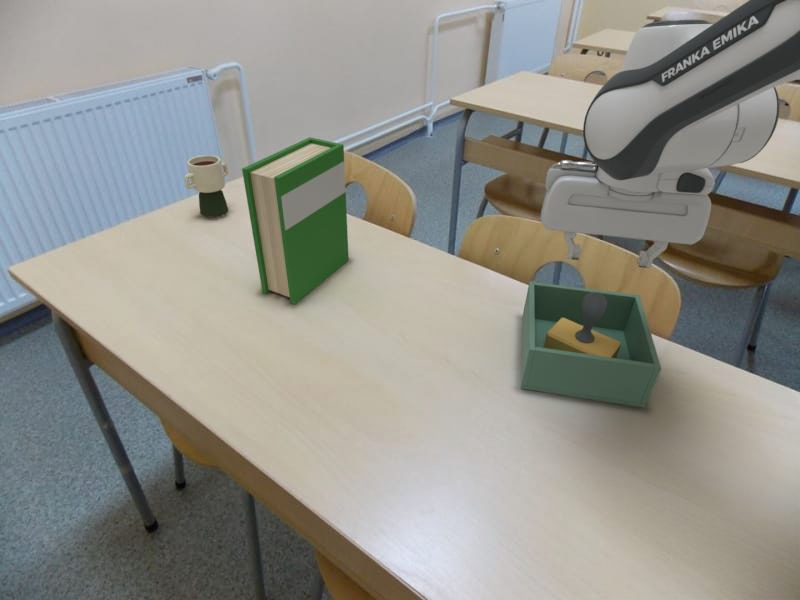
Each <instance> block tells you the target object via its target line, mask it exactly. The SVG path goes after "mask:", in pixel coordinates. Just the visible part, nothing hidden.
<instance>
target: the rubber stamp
mask: <svg viewBox="0 0 800 600" xmlns="http://www.w3.org/2000/svg"><path fill="white" fill-rule="evenodd" d="M606 306H607V300H606V298H605V297H604V295H602V294H601V293H599V292H591V293H589V294H587V295H586V296H585V297H584V299H583V302H582V307H581V311H582V317H583V324H584V325H583V326H582V325H580V324H577V323H575V322H573V321H570V320H568V319H566V318H561V319H560V320H559V321H558V322H557V323H556V324H555V325H554V326H553V327H552V328H551V329H550V330H549V331H548V333H547V335H546V339H545V343H544V347H543V348H548V349H555V350H561V351H568V352H575V353H582V354H589V355H596V356H603V357H610V358H617V355H618V352H619V349H620V347H621V343H620V342H619V341H616V340H614V339H612V338H610V337H607V336H605V335H603V334H600V333H598V332H596V331H593V330H591V329H592V327H593V326H594V324H595V323H596V322H597V321H598V320H599V319H600V318H601V317H602V316H603V314H604V312H605V310H606Z"/></svg>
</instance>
